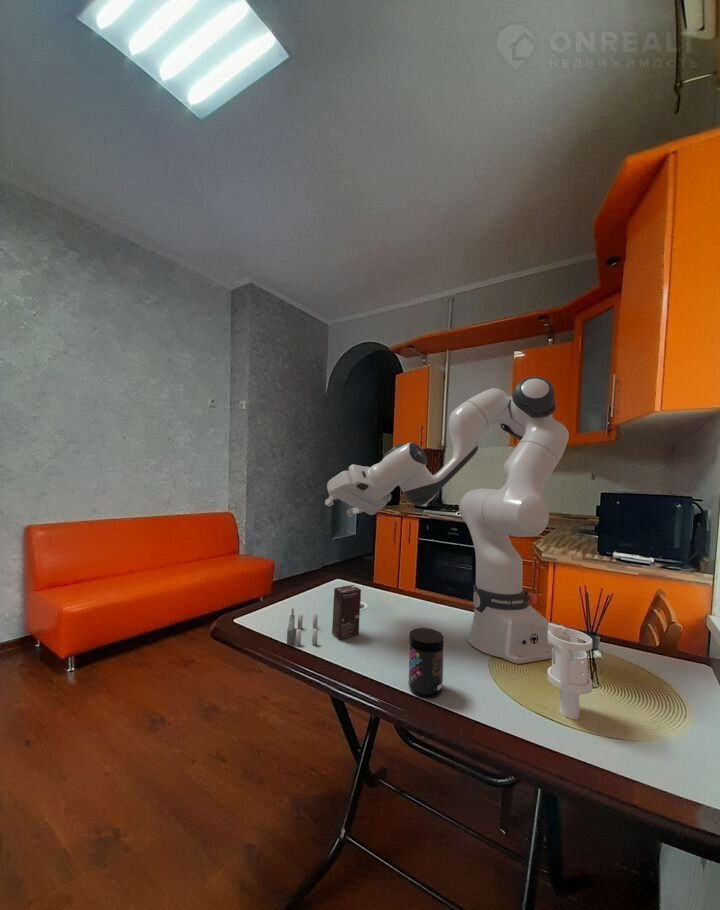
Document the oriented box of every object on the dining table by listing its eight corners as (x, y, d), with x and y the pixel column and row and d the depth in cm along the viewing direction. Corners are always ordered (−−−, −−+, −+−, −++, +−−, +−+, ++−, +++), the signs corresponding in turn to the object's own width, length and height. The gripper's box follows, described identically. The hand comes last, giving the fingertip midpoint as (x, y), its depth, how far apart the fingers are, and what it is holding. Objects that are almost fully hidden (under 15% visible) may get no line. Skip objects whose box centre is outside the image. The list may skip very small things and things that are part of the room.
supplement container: (415, 675, 76) (416, 625, 76) (447, 686, 72) (448, 633, 73) (402, 691, 70) (404, 637, 70) (436, 704, 67) (437, 646, 67)
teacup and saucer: (340, 602, 118) (341, 589, 118) (364, 601, 120) (364, 588, 120) (344, 612, 110) (345, 598, 110) (370, 611, 111) (370, 597, 111)
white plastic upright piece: (553, 696, 70) (554, 617, 71) (596, 714, 65) (596, 629, 66) (541, 713, 65) (542, 628, 66) (587, 733, 60) (587, 641, 61)
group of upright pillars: (317, 627, 98) (317, 607, 98) (317, 645, 87) (317, 623, 88) (290, 627, 97) (290, 607, 97) (286, 646, 87) (287, 623, 87)
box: (340, 641, 90) (341, 592, 90) (331, 634, 94) (333, 587, 94) (360, 636, 93) (361, 588, 94) (351, 629, 97) (352, 584, 98)
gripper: (391, 488, 110) (357, 511, 115) (348, 461, 96) (312, 488, 101) (397, 505, 105) (362, 528, 110) (353, 479, 92) (315, 507, 97)
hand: (337, 509), depth 106 cm, fingers open, 8 cm apart
